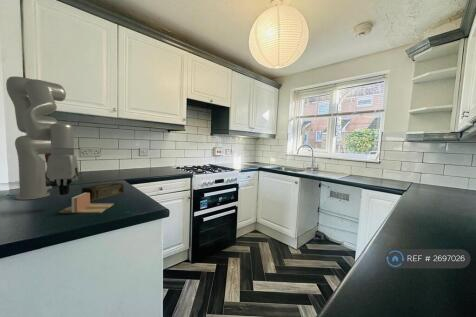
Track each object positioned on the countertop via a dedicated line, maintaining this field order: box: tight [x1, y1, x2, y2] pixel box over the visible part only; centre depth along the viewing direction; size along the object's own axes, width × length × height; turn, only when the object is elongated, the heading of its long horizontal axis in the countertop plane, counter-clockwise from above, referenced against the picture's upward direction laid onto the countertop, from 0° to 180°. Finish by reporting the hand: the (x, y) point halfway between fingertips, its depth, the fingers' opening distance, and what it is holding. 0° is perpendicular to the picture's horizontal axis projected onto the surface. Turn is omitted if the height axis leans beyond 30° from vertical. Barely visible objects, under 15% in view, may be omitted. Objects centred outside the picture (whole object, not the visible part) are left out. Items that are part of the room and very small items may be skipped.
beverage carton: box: [81, 181, 125, 202], centre depth 111 cm, size 8×19×7 cm, turn 161°
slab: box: [71, 193, 91, 212], centre depth 88 cm, size 9×2×6 cm, turn 7°
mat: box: [58, 202, 115, 214], centre depth 90 cm, size 12×16×1 cm
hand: (64, 194), depth 88 cm, fingers closed
